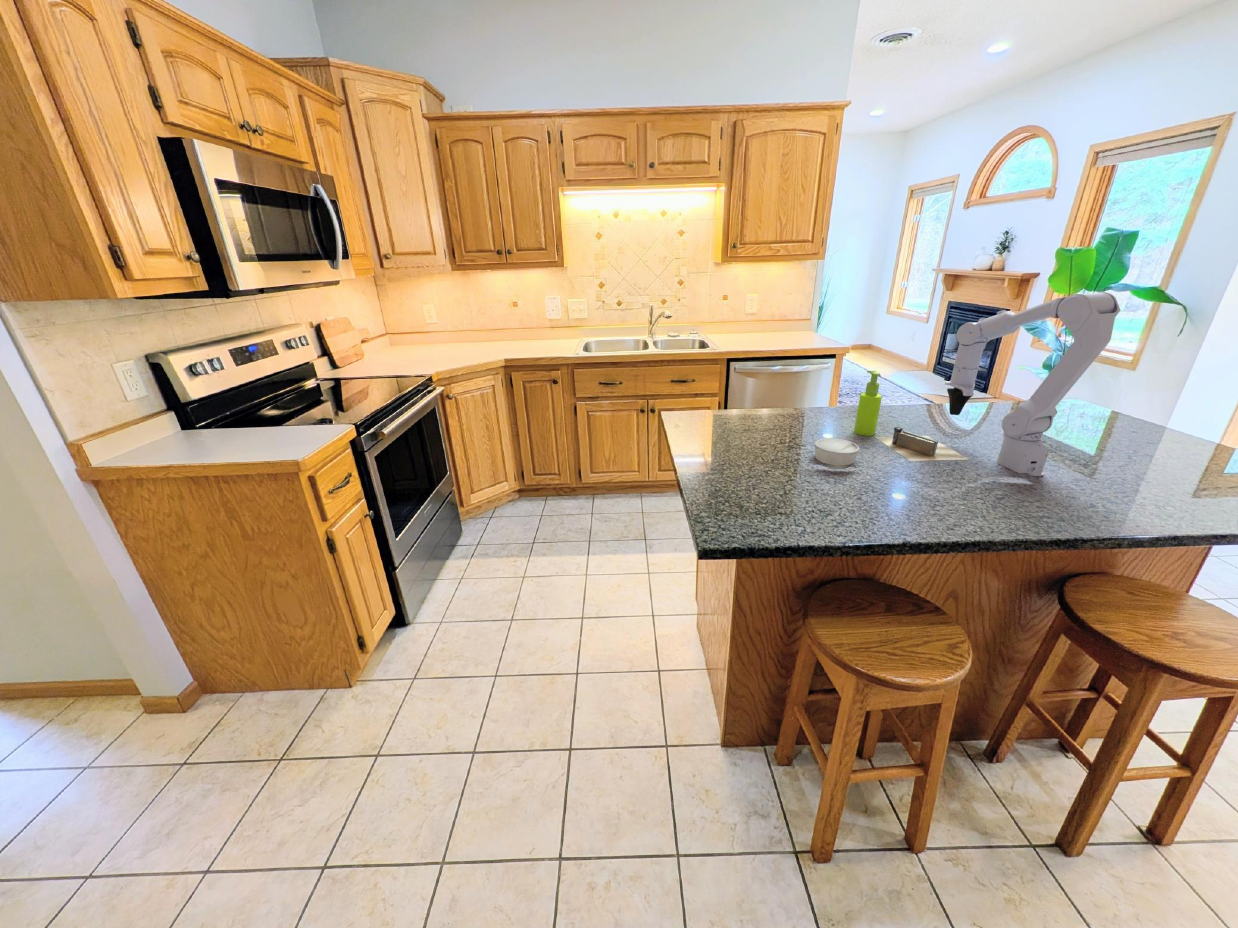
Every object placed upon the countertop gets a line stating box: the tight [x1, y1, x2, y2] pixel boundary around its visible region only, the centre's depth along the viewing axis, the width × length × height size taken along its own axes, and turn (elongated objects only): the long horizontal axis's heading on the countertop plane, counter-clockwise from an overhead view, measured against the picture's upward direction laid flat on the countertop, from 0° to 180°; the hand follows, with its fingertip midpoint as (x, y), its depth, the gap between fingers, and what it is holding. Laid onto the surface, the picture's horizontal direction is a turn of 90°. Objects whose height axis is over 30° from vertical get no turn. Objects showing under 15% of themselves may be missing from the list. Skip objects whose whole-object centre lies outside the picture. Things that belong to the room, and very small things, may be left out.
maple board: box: [874, 435, 970, 462], centre depth 142 cm, size 19×16×1 cm
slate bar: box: [902, 430, 939, 455], centre depth 139 cm, size 10×1×4 cm, turn 25°
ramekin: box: [813, 437, 860, 470], centre depth 135 cm, size 11×11×5 cm
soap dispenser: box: [853, 370, 883, 436], centre depth 151 cm, size 6×7×20 cm
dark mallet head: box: [892, 426, 935, 457], centre depth 140 cm, size 12×2×5 cm, turn 27°
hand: (954, 414), depth 143 cm, fingers closed
